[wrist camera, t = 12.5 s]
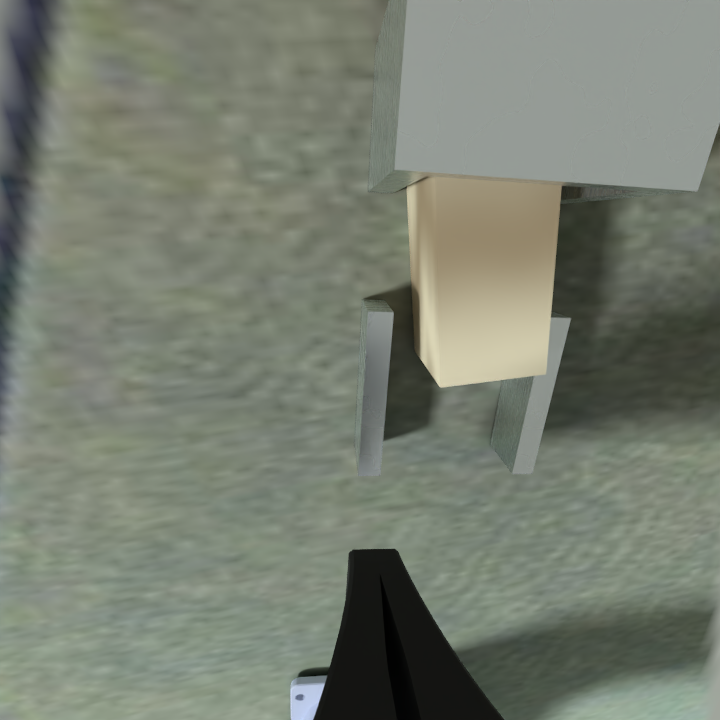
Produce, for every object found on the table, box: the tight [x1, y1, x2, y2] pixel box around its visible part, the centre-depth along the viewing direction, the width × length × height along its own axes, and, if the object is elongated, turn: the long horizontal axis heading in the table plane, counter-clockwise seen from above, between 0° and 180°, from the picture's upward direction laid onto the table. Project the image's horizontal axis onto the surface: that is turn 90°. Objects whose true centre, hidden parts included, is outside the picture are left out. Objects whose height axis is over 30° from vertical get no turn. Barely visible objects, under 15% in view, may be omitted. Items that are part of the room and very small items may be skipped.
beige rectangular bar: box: [407, 176, 562, 388], centre depth 11 cm, size 8×3×4 cm, turn 6°
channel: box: [354, 299, 571, 476], centre depth 14 cm, size 6×7×2 cm
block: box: [368, 0, 720, 204], centre depth 9 cm, size 4×7×5 cm, turn 87°
